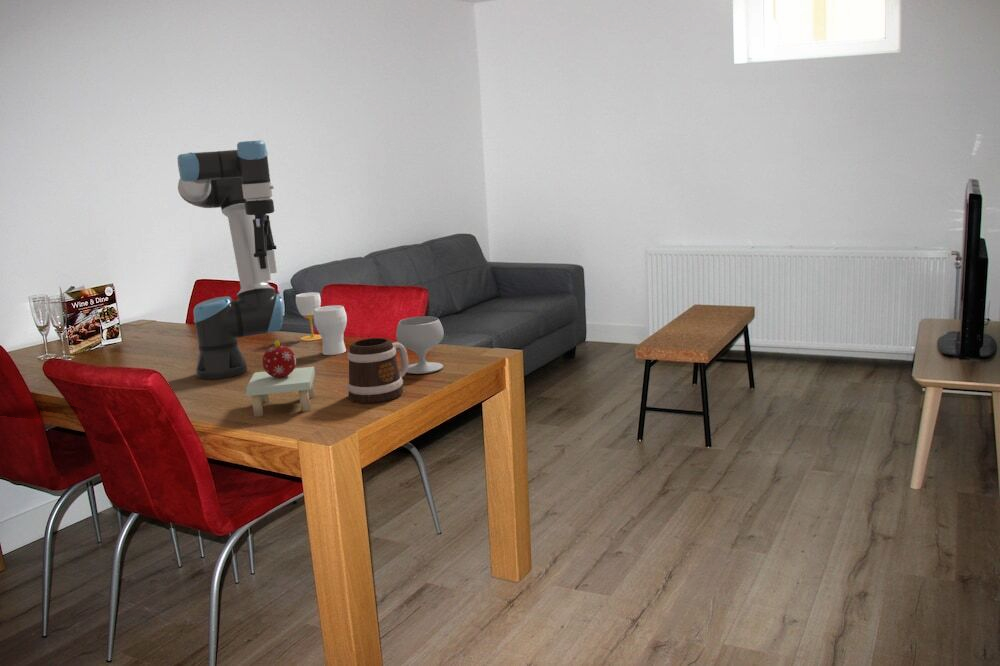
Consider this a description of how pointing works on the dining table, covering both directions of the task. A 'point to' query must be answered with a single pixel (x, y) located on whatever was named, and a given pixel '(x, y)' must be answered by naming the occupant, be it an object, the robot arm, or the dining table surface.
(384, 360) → the mug
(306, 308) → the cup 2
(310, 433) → the dining table surface
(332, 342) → the cup
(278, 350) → the christmas ornament
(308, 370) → the mint green side table
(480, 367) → the dining table surface
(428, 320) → the chalice
